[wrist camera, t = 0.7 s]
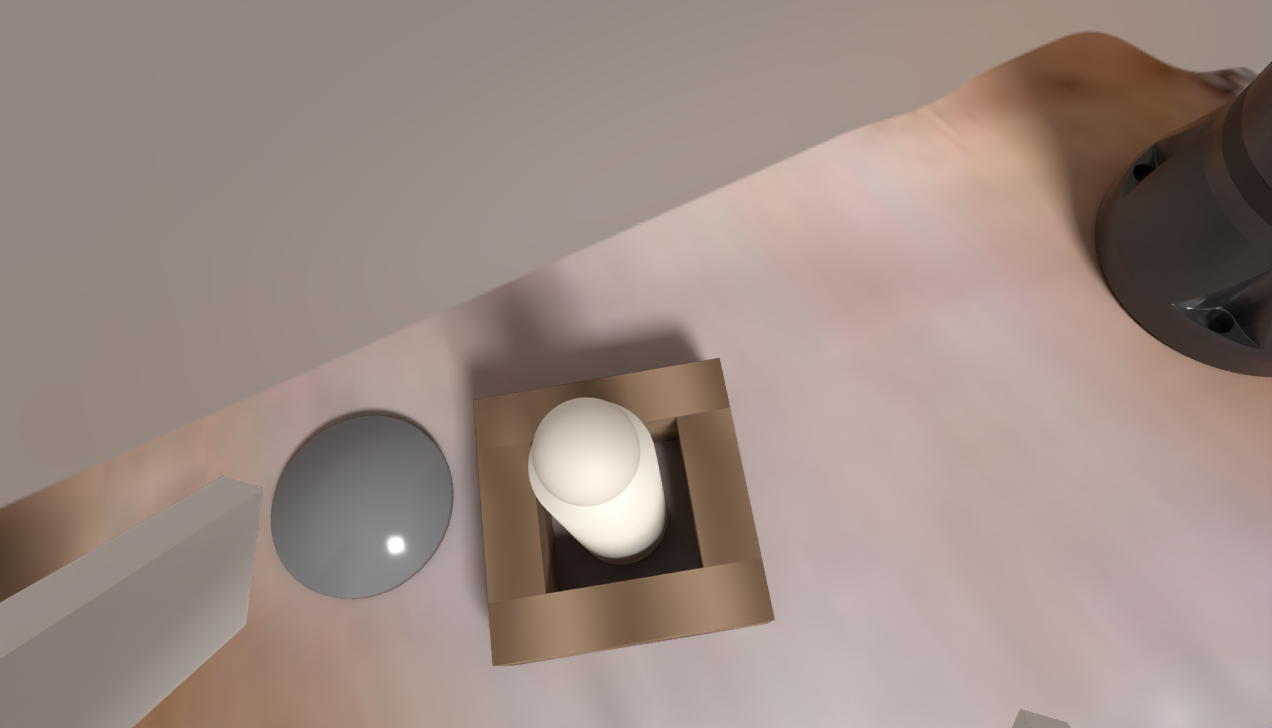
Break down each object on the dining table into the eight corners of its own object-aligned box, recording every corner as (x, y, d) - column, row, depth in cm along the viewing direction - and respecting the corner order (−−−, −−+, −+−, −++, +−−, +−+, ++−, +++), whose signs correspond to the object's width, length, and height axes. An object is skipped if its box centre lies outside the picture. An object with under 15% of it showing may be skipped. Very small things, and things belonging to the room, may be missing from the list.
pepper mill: (659, 464, 41) (638, 358, 27) (675, 556, 39) (661, 495, 25) (569, 479, 41) (501, 381, 27) (581, 571, 39) (513, 520, 25)
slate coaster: (448, 405, 43) (445, 401, 43) (458, 582, 40) (455, 581, 39) (279, 434, 43) (273, 431, 43) (273, 613, 40) (267, 612, 39)
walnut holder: (717, 384, 42) (719, 358, 39) (767, 623, 38) (774, 619, 34) (492, 422, 43) (473, 399, 39) (512, 665, 38) (492, 665, 34)
